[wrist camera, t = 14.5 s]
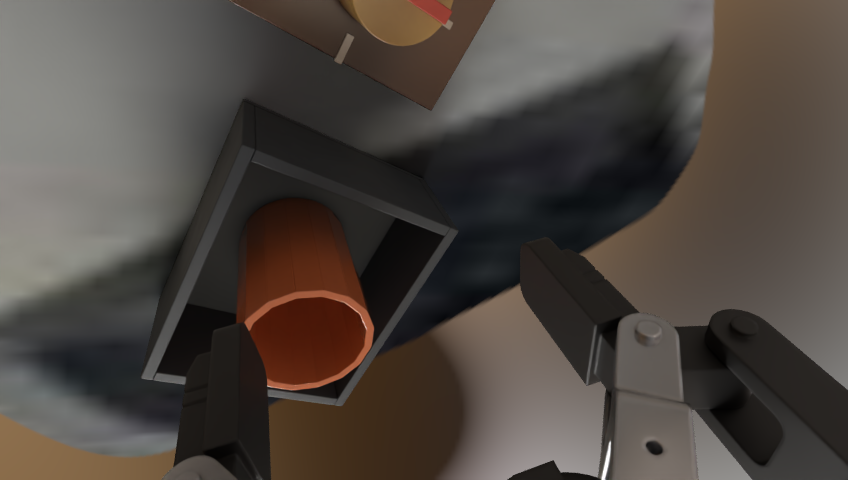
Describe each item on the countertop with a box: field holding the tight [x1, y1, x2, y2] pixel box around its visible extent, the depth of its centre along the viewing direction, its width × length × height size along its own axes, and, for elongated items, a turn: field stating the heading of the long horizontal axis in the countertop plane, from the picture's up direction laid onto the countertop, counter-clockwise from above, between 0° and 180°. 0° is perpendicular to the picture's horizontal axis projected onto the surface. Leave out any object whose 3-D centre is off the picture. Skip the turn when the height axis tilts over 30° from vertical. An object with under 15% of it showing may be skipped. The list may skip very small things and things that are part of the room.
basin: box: [141, 98, 458, 406], centre depth 28 cm, size 12×14×6 cm
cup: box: [236, 198, 374, 390], centre depth 26 cm, size 6×6×9 cm
